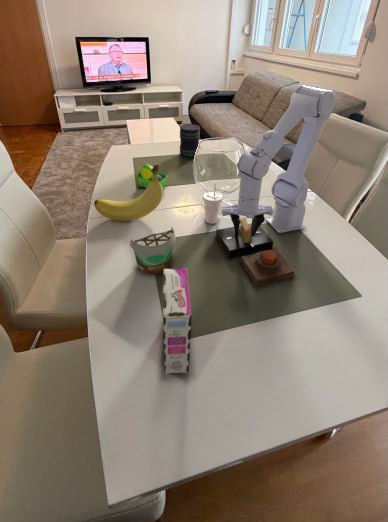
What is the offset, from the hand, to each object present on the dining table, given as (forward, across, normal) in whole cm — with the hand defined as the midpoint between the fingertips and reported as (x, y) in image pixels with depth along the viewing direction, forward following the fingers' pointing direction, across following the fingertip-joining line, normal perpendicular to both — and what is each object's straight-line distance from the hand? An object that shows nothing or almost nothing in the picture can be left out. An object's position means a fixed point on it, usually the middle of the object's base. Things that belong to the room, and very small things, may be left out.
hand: (244, 234), depth 89 cm
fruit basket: (+4, -30, +36) cm, 48 cm away
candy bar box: (+4, -20, -32) cm, 38 cm away
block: (+3, +4, -11) cm, 12 cm away
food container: (+4, -25, -10) cm, 27 cm away
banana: (+4, -36, +14) cm, 39 cm away
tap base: (+3, 0, 0) cm, 3 cm away
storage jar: (+4, -14, +70) cm, 71 cm away
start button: (0, +4, -11) cm, 12 cm away
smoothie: (+4, -8, +12) cm, 15 cm away
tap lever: (0, 0, 0) cm, 0 cm away
